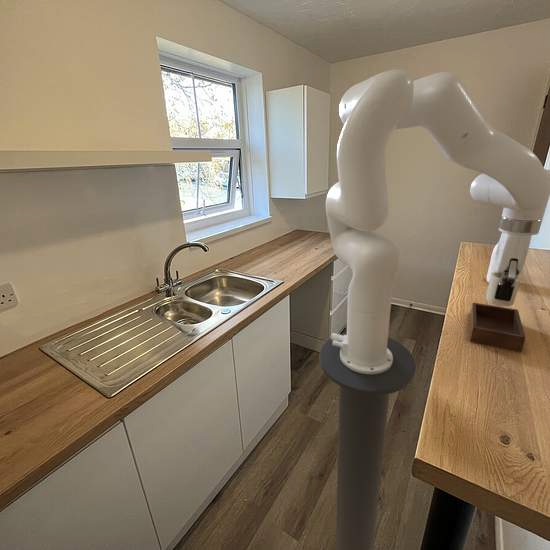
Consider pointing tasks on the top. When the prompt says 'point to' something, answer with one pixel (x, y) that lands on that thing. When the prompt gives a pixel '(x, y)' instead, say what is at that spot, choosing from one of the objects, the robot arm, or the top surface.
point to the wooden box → (496, 327)
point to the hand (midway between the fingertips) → (501, 293)
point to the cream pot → (493, 286)
